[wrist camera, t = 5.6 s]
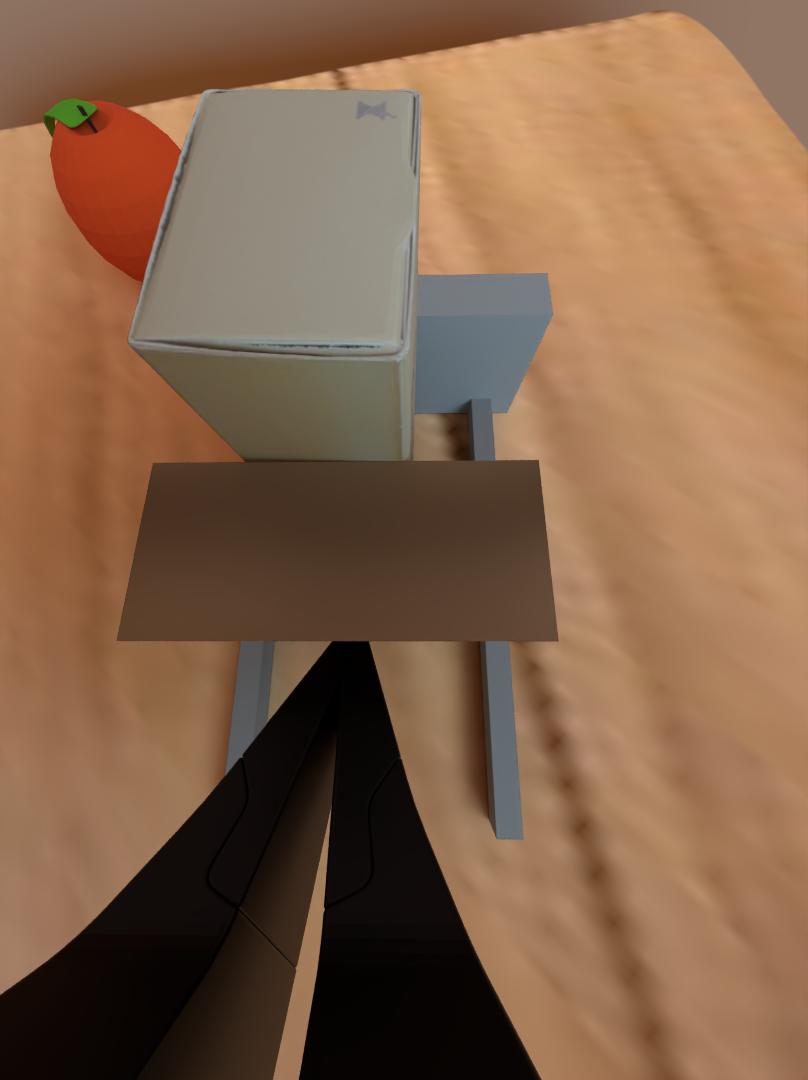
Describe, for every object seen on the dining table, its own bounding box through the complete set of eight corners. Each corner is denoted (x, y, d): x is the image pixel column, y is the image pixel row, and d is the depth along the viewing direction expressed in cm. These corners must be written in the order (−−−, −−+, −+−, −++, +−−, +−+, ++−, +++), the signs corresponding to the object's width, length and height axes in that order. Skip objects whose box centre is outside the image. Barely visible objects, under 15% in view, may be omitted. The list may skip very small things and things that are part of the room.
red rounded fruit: (96, 284, 21) (-56, 120, 14) (166, 215, 23) (59, 34, 16) (194, 333, 20) (82, 181, 13) (261, 257, 21) (191, 83, 15)
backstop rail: (543, 821, 14) (643, 969, 8) (205, 817, 14) (56, 959, 8) (504, 381, 19) (547, 273, 13) (260, 384, 19) (194, 278, 13)
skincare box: (335, 435, 18) (199, 70, 6) (415, 438, 18) (425, 70, 6) (322, 549, 16) (98, 339, 5) (409, 553, 16) (411, 346, 4)
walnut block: (473, 631, 15) (558, 640, 7) (281, 631, 16) (117, 640, 7) (469, 547, 16) (538, 460, 8) (288, 548, 16) (152, 462, 8)
